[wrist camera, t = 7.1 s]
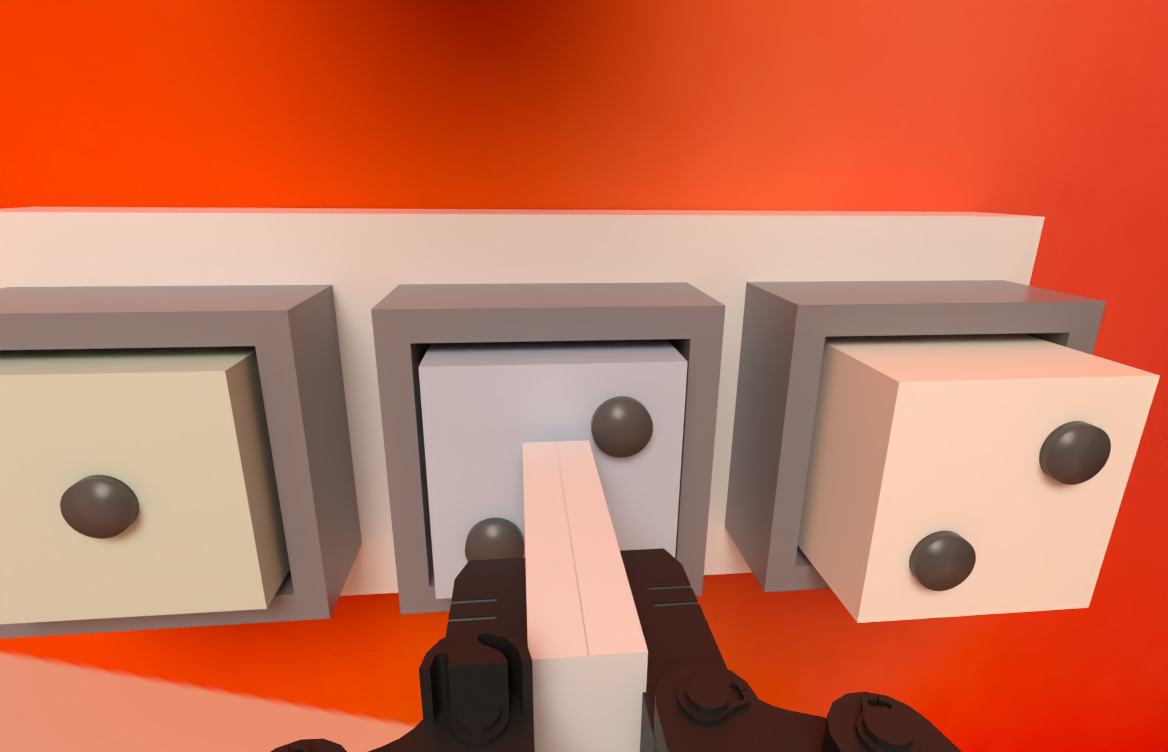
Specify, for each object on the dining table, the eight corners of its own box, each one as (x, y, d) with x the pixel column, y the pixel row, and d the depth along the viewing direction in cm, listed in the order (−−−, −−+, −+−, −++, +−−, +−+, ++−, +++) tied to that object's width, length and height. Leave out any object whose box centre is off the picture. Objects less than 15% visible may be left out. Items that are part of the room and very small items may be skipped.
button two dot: (1017, 332, 17) (1174, 379, 13) (974, 522, 19) (1099, 615, 15) (811, 335, 17) (908, 386, 12) (786, 531, 18) (864, 631, 14)
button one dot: (290, 327, 17) (218, 375, 13) (317, 521, 19) (261, 617, 15) (53, 331, 16) (-104, 382, 12) (104, 530, 18) (-16, 634, 14)
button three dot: (651, 322, 18) (691, 365, 14) (642, 506, 20) (676, 592, 16) (440, 325, 17) (416, 370, 13) (452, 515, 19) (434, 606, 15)
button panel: (974, 211, 21) (1160, 224, 15) (914, 517, 25) (1044, 627, 19) (35, 206, 18) (-209, 220, 12) (123, 555, 22) (-30, 702, 16)
